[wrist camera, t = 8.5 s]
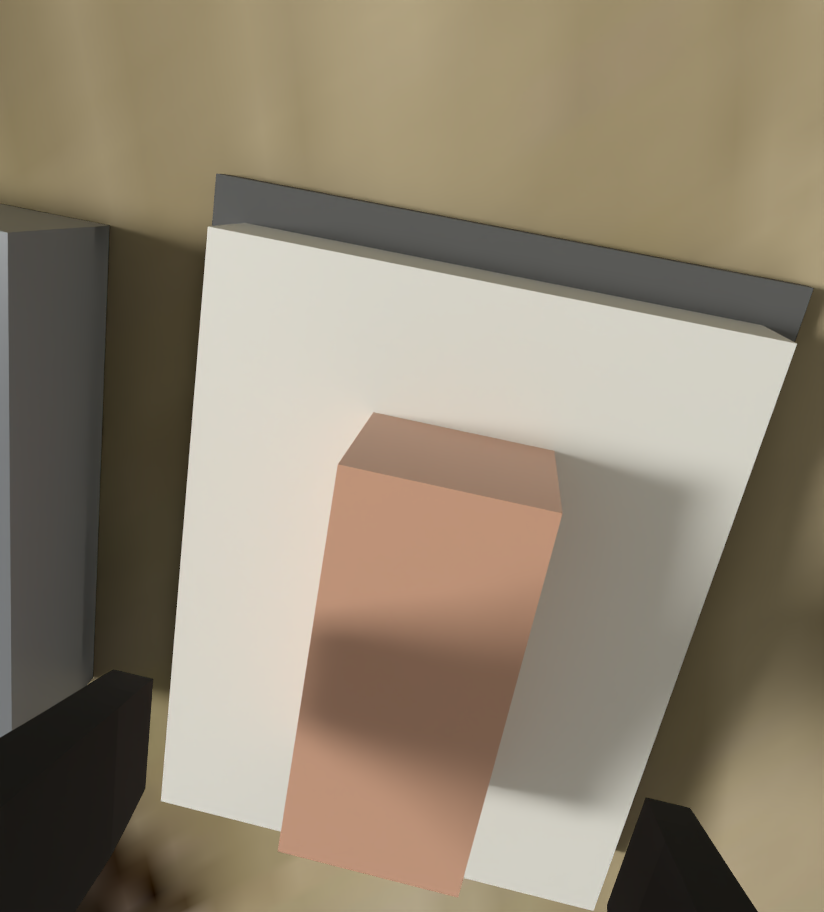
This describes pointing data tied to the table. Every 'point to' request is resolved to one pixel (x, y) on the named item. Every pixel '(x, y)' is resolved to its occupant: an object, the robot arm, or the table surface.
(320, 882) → the table surface
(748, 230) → the table surface
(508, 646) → the lid
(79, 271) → the storage box
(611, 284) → the mat
